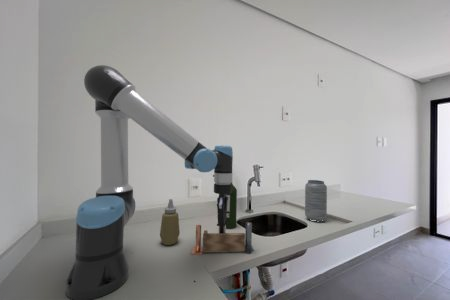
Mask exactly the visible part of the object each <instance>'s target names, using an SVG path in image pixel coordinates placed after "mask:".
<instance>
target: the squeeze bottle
mask: <svg viewBox="0 0 450 300" xmlns="http://www.w3.org/2000/svg"><path fill="white" fill-rule="evenodd" d="M179 219H180V218H179V213H178V212H177V207H175V206H174V202H173V199H168V204H167V207H164V213H163V214H162V215H161V222H160V230H159V231H160V232H159V237H160V240H161V243H162V245H164V246H171V245H172V244H173V245H175V244H176V243H177V242H178V239H179V236H180V233H181V232H180V221H179Z"/></svg>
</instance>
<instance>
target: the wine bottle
mask: <svg viewBox="0 0 450 300" xmlns="http://www.w3.org/2000/svg"><path fill="white" fill-rule="evenodd" d="M231 184H232V193H230V194H227V197H228V201H227V218H226V219H227V220H226V222H228V224H225V225H226V230H233V229H235V228H236V227H237V205H238V204H237V203H238V201H237V200H238V198H237V197H238V190H237V188H236V186H235V185H234V184H233V182H232V183H231Z"/></svg>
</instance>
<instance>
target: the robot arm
mask: <svg viewBox="0 0 450 300" xmlns="http://www.w3.org/2000/svg"><path fill="white" fill-rule="evenodd" d="M83 83H84V87H85V90H86V92H87V93H88V95H89V96H90V97H91V98H92V99H94V103H95V105H94V106H95V110H94V112H95V114H96V115H97V116H98V117H99V118H100V187H98V188H97V190H96V191H95V197H94V198H93V197H92V198H89V199H86V200H85V201H83V202H81V203H80V204H79V205H78V208H77V213H76V216H75V221H76V229H75V259H74V260H75V261H74V262H73V265H72V268H71V270H70V273H69V275H68V277H67V280H66V284H65V294H66V296H67V297H68V298H69V299H71V300H94V299H99V298H100V297H103V296H107V295H108V294H110V293H113V292H114V291H116V290H118V288H121V287H122V286H123V284H125V283H126V281H128V278H129V273H130V269H129V268H130V267H129V263H128V260H127V258H126V255H125V251H124V236H125V235H124V234H125V233H124V231H125V227H126V225H127V223H128V222H129V221H130V220H131V218H132V217H133V216H134V213H135V211H136V201H135V198H134V189H133V186H132V185H131V184H129V126H128V125H129V119H131V120H132V121H133V122H135V123H136V124H137V125H138V126H140V127H142V128H143V129H144V130H145V131H147V132H148V133H149V134H150V135H151V136H153V137H154V138H156V139H157V140H158V141H160V142H161V143H162V144H164V145H165V146H166V147H167V148H169V149H170V150H171V151H172V152H174V153H175V154H177V155H178V156H179V157H181V158H182V159H184V168H185V169H189V170H190V169H191V170H197V171H198V172H199V173H210V172H212V171H213V174H212V177H213V182H214V184H213V193H214V194H218V197H217V199H216V200H217V203H216V207H217V208H216V209H217V223H216V226H217V227H218V233H227V231H226V230H227V229H226V225H225V224H228V222H226V220H227V219H226V218H227V201H228V197H227V194H230V193H232V184H233V159H234V156H233V153H234V152H233V147H232V146H231V145H215V146H214V148H213V149H210V148H207V147H206V146H204V144H203V143H201V142H199V141H198V139H196V138H195V137H193V136H192V135H191V134H190V133H189V132H187V131H186V130H185V129H184V128H182V127H181V126H179V124H177V123H176V122H175V121H174V120H172V119H171V118H170V117H168V116H167V115H166V113H164V112H162V111H161V110H160V109H158V108H157V107H156V106H155V105H153V103H151V102H150V101H149V100H147V99H146V98H145V97H144V96H142V95H141V94H140V93H139V92H137V90H136V86H135V85H134V84H133V83H132V82H131V81H129V80H128V79H127V78H126V77H125V76H124V75H123V74H121V73H120V72H119V71H118V70H117V69H115V68H114V67H112V66H109V65H103V64H100V65H95V66H92V67H91V68H89V69H88V70H87V71H86V73H85V75H84V78H83ZM231 183H232V184H231Z"/></svg>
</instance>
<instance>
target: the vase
mask: <svg viewBox="0 0 450 300" xmlns="http://www.w3.org/2000/svg"><path fill="white" fill-rule="evenodd" d="M327 187H328V186H327V185H326V183H325V181H324V180H317V179H308V180H307V182H306V183H305V186H304V189H305V190H304V195H305V196H304V216H305V218H307V220H308V219H311V220H316V221H322V220H324V221H326V220H327V217H328V215H327V214H328V212H327V210H328V209H327V208H328V204H327V203H328V198H327V197H328V188H327Z"/></svg>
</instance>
